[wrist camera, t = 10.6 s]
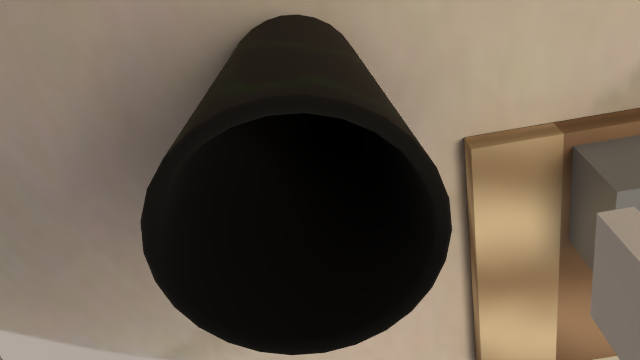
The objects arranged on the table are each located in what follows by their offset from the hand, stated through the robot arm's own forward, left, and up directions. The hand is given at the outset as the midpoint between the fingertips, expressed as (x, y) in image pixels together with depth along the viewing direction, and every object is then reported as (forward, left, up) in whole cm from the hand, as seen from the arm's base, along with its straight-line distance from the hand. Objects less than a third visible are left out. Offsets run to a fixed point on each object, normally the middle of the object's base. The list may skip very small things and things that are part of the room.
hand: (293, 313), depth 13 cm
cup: (0, 0, -15) cm, 15 cm away
